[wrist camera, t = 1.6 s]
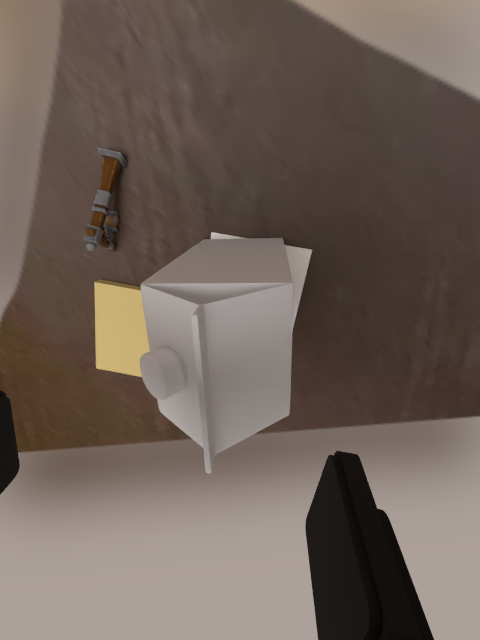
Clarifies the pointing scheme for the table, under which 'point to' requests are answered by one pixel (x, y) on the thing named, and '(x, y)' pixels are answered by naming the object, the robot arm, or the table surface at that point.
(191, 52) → the table surface
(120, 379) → the table surface
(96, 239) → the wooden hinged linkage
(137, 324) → the coaster
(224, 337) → the milk carton
